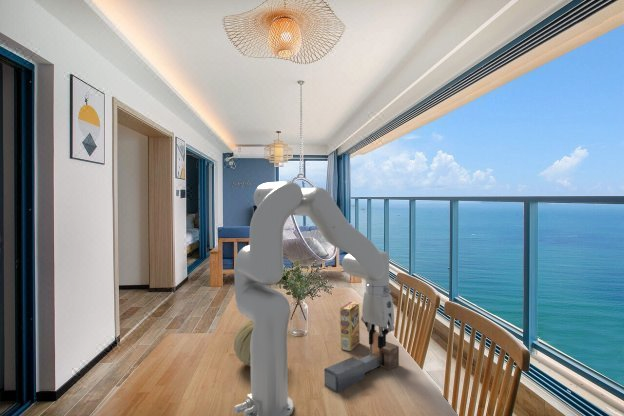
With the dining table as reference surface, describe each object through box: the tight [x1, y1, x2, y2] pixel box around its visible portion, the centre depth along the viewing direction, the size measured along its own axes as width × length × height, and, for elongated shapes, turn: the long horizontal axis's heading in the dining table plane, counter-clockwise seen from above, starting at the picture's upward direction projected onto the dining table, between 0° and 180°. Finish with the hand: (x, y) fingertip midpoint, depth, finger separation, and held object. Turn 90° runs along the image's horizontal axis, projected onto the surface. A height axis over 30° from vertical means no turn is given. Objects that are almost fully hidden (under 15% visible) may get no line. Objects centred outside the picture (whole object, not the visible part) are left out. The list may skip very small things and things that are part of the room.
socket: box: [369, 341, 400, 371], centre depth 120 cm, size 5×8×6 cm, turn 40°
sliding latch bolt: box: [358, 330, 384, 373], centre depth 115 cm, size 16×3×10 cm, turn 130°
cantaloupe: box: [233, 320, 254, 368], centre depth 120 cm, size 15×15×15 cm
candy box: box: [339, 301, 361, 352], centre depth 134 cm, size 9×4×15 cm, turn 150°
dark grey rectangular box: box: [323, 356, 366, 393], centre depth 108 cm, size 12×5×5 cm, turn 130°
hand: (377, 344), depth 118 cm, fingers closed on sliding latch bolt, 3 cm apart
